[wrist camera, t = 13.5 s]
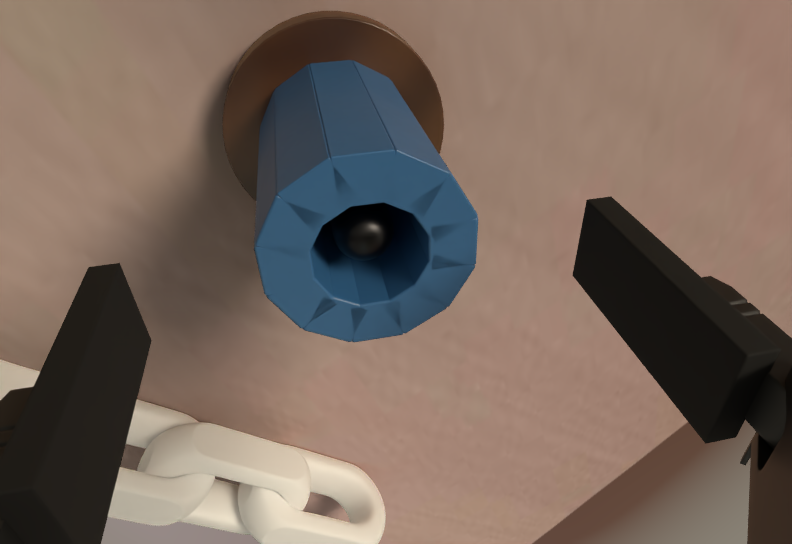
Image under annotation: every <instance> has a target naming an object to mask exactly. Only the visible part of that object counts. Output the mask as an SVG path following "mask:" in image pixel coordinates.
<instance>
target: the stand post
mask: <svg viewBox="0 0 792 544" xmlns="http://www.w3.org/2000/svg"><path fill="white" fill-rule="evenodd" d="M330 221H331V227H332V232H333V237H334V240H335V243H336V245H337V247H338V248H339V249H340V251H341V252H343V253H344V254H345V255H346V256H348V257H350V258H352V259H355V260H360V261H366V260H371V259H374V258H377V257H378V256H380V255H382V254H383V253H384V252H385V251H386V250H387V249H388V247H389V246H390V244H391V241H392V238H393V232H394V228H393V222H392V219H391V216H390V214H389V211H388V208H387V205H386V203H376V204H368V205H360V206H352V207H349V208H348V209H346V210H345V211H343V212H342V213H340V214H339V215H338V216H336V217H335V218H333V219H332V220H330Z"/></svg>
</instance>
